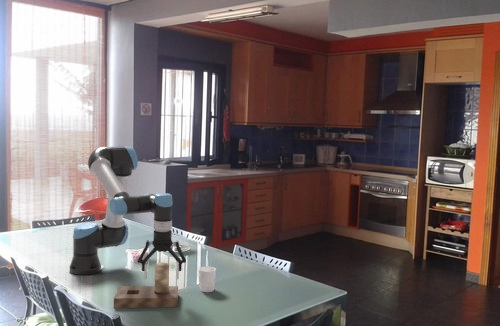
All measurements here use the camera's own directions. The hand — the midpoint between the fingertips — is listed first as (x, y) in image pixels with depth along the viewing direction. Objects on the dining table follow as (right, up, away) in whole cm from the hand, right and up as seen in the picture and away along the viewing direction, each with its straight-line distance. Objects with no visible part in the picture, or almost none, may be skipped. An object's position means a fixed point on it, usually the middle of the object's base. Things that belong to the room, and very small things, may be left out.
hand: (161, 278), depth 213 cm
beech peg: (0, -10, +1) cm, 10 cm away
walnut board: (-6, -10, 0) cm, 12 cm away
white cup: (+18, -9, +16) cm, 26 cm away
